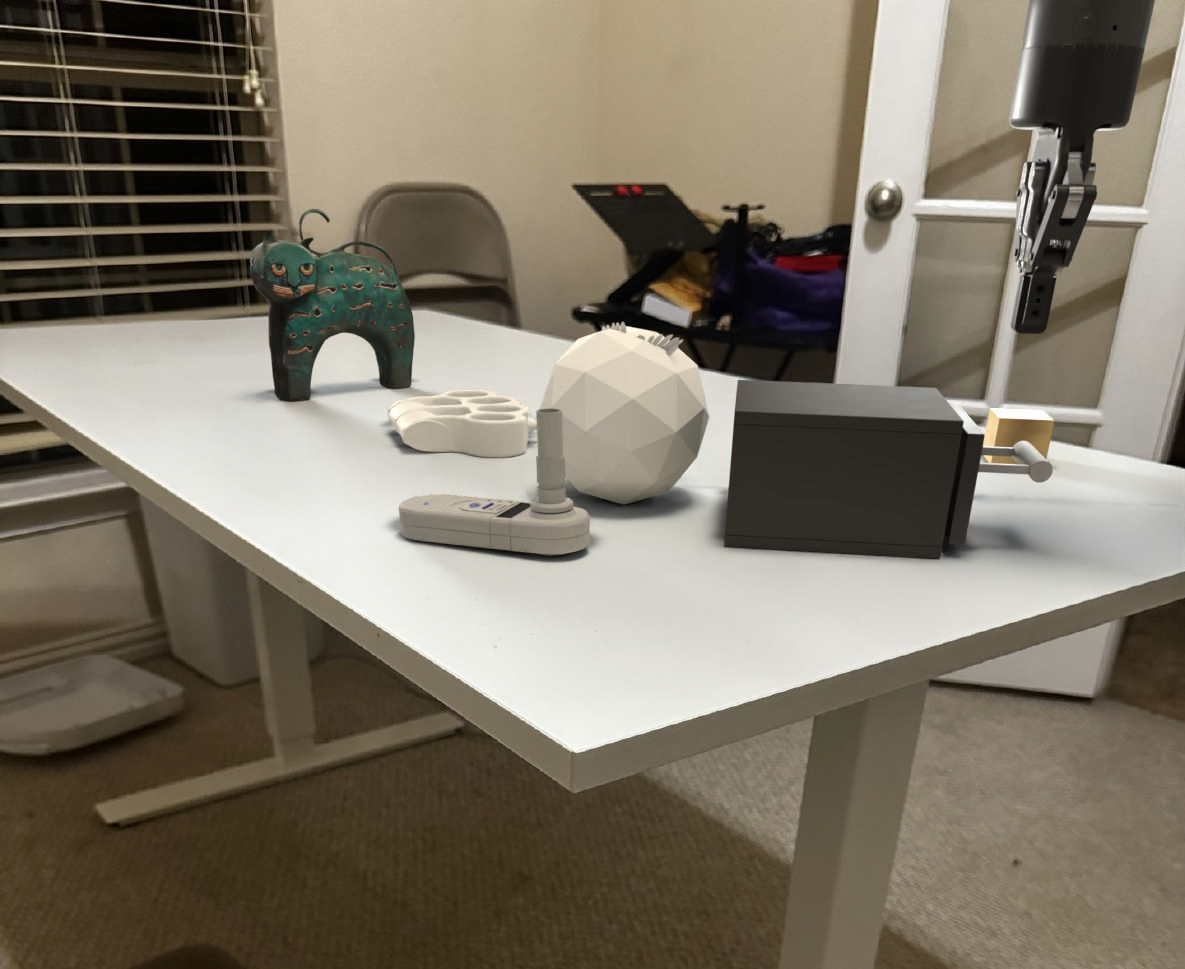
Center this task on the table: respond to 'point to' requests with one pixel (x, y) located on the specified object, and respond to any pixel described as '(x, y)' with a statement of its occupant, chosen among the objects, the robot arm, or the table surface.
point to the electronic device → (507, 509)
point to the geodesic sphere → (627, 412)
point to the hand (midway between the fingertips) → (1027, 331)
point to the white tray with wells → (464, 423)
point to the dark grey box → (841, 468)
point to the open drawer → (970, 466)
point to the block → (1017, 431)
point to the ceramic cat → (330, 309)
